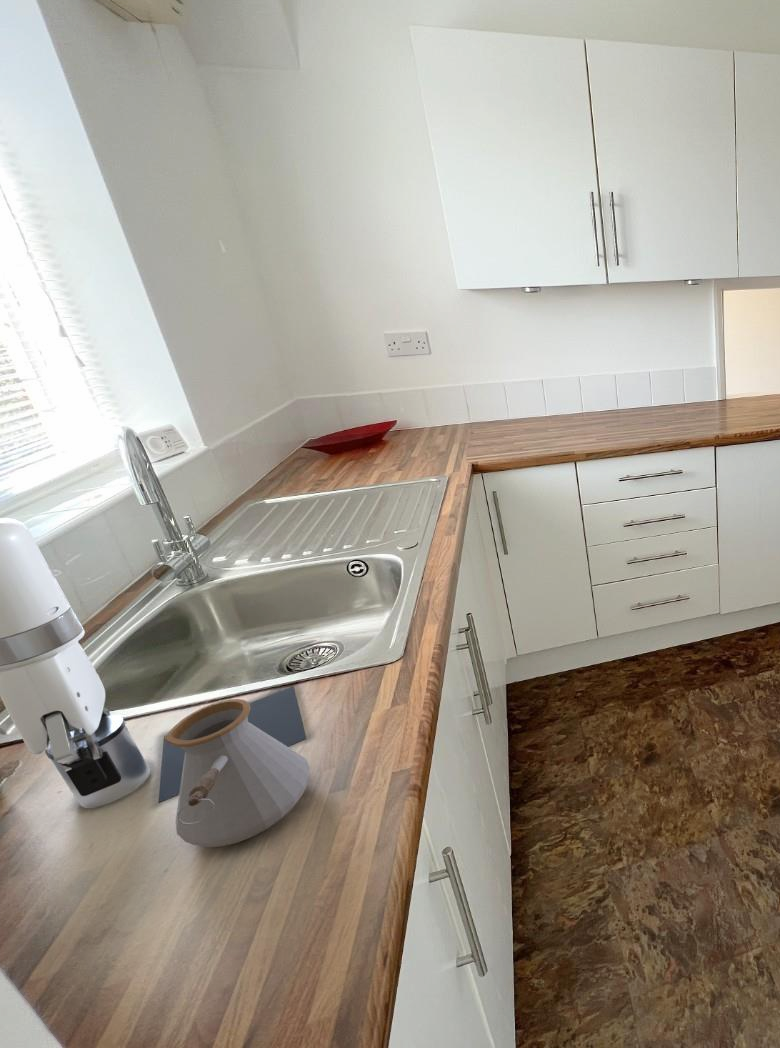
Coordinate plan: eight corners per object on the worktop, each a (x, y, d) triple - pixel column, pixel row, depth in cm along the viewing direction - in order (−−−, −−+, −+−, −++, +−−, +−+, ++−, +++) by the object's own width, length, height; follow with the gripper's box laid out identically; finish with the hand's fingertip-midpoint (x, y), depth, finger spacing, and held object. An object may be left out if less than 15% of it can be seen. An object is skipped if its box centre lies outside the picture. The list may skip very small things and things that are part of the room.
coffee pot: (190, 808, 64) (132, 699, 59) (313, 756, 71) (270, 653, 65) (172, 975, 48) (89, 848, 43) (332, 888, 55) (278, 767, 49)
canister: (75, 821, 64) (39, 765, 61) (83, 787, 68) (50, 733, 65) (151, 789, 67) (120, 735, 64) (154, 758, 72) (125, 707, 69)
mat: (159, 805, 65) (158, 803, 65) (165, 738, 75) (163, 735, 75) (307, 741, 73) (306, 738, 73) (294, 688, 83) (293, 685, 83)
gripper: (-6, 618, 64) (72, 745, 71) (-56, 695, 51) (44, 840, 58) (89, 593, 68) (154, 715, 75) (65, 658, 56) (145, 797, 63)
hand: (105, 768), depth 66 cm, fingers closed on canister, 6 cm apart
